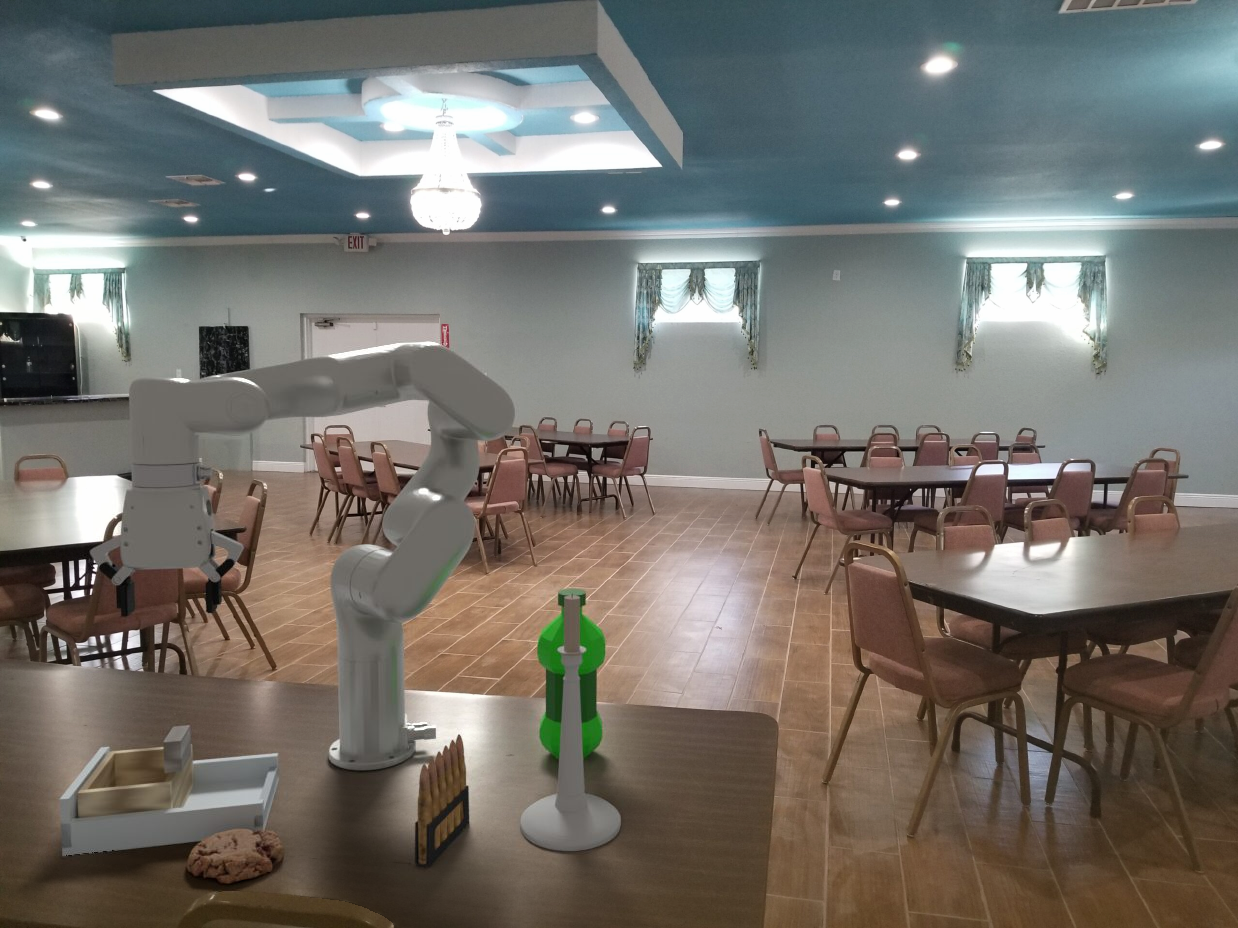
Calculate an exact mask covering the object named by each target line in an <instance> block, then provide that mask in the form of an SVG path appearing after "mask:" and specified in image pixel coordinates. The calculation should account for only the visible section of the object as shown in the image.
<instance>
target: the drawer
mask: <svg viewBox="0 0 1238 928" xmlns="http://www.w3.org/2000/svg"><path fill="white" fill-rule="evenodd" d="M191 736H192V735H191V724H189V725H188V724H187V725H177V726H173V727H172V728H171V730H170V731H169V733H168V734H167V736H166V737H165V739H164V740H163V743H162V744H163V745H162V746H159V747H148V748H146V747H145V748H144V747H143V748H135V749H122V750H112V751H111V750H110V752H109V753H108V754H107V755H106V757H105V758H104V759H103V760H102V762H101V763H100V764H99V766H98V767H97V768H96V770H95V771H94V772H93V774H92V775H91V776H90V777H89V779H88V780H87V781H86V783H85V784H84V785H83V787H82V788H81V789H80V790H79V792H78V793H77V797H78V816H79V818H86V817H96V816H105V815H115V814H125V813H134V812H144V811H154V810H163V809H173V808H183V806H184V804H185V802H186V800H187V798H188V796H189V794H190V792H191V790H192V788H193V786H194V777H193V761H194V755H193V752H194V751H193V744H192V741H191V738H192V737H191Z"/></svg>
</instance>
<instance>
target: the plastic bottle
mask: <svg viewBox="0 0 1238 928" xmlns="http://www.w3.org/2000/svg"><path fill="white" fill-rule="evenodd" d="M572 594H573V595H574V596H579V597H580V646H582V647H585V648H586V651H585V652H584V653H583V654H582V663H581V664H580V665H579V669H578V675H579V677H580V680H579V681H580V703H581V725H582V747H583V760H584V759H586V758H588V756H589V755H590V754H591V753H592V752H594V751H595V750H596V749H598V747H599V746H600V744H601V742H602V739H603V720H602V717H601V716H600V714H599V711H598V710H597V706H598V705H597V701H598V700H597V699H598V698H597V696H598V695H597V689H598V687H597V685H598V683H597V681H598V679H597V678H598V669H599V667H601V665H603V664H604V662H605V658H606V637H605V635H604V632H603V630H602V629H601V628H600V627H599V626H598V625H597V624H596V623H595V622H593V621H592V619H590V618H588V617H587V616H586V615H585V614H584V613H583V607H584V606H586V605H587V604H586V603H587V602H586V601H587V599H586V597H587V592H586V590H584V589H581V588H564V589H560V590H558V591H557V606H560V607H561V609H560V610H561V613H560V614H559V615H558V616H556V617H555V618H554V619H553V620H551V621H550V622H549V623H548V624H547V625H546V626H545V627H544V628H542V630H541V631H540V634H539V637H538V641H537V646H536V647H537V654H536V655H537V659H538V662H539V664H540V665H541V666H542V667H543V668H544V669H545V712H544V713H543V715H542V717H541V719H540V725H539V732H538V733H539V736H538V737H539V740H540V743H541V745H542V746H543V747H544V749H545V750H546V751H548V752H549V753H550V754H552V755H553V757H554V758H556V759H557V760H559V755H560V738H561V720H562V703H563V685H564V680H563V678H564V676H565V673H566V672H565V668H564V667H565V666H564V665H563V664H562V663H561V659H562V655H561V653H560V652H558V650H557V649H558V648H559V647H562V646H564V597H565V596H571V595H572Z"/></svg>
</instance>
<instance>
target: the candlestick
mask: <svg viewBox="0 0 1238 928" xmlns="http://www.w3.org/2000/svg"><path fill="white" fill-rule="evenodd" d="M557 650H558V652H560V653H561V655H562V659H561V663H562V664H563V665H564V666H565V667H564V668H565V672H566V673H565V676H564V678H563V680H564V685H563V703H562V720H561V738H560V755H559V759H558V775H557V787H556V791H557V792H556V793H555V794H552V795H548V796H544V797H543V798H540V799H538V800H537V801H534V803H532V804H531V805H529V806H528V807H527V808H526V809H525V810H524V811H523V812H522V815H521V817H520V819H519V820H520V823H519V824H520V831H521V834H522V835H523V836H524V838H525V839H526V840H528V841H529V842H530V843H532V844H534V845H536V846H539V847H542V848H544V849H548V850H553V851H558V852H560V851H561V852H577V851H585V850H590V849H594V848H596V847H600V846H603V845H605V844H607V843H608V842H610V841H611V840H613V839H614V838H615V837H616V836H617V835H618V834H619V832H620V830H621V827H622V826H621V825H622V818H621V817H622V816H621V814H620V812H619V811H618V809H617V808H616V807H615V806H614V805H612V804H611V803H610V802H608V801H607V800H605V799H603V798H601V797H600V796H596V795H594V794H589V793H585V790H586V787H585V771H584V759H583V747H582V725H581V703H580V681H579V680H580V677H579V675H578V669H579V665H580V664H581V663H582V654H583V653H584V652H585V651H586V648H585V647H582V646H580V597H579V596H574V595H573V594H572V595H571V596H565V597H564V646H562V647H559V648H558V649H557Z"/></svg>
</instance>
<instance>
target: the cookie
mask: <svg viewBox="0 0 1238 928" xmlns="http://www.w3.org/2000/svg"><path fill="white" fill-rule="evenodd" d="M284 854H285V846H284V844H283V842H282V841H281V840H280V838H279V837H278V834H277V833H276V832H275V831H274V830H269V829H268V830H267V829H265V830H261V829H260V830H258V831H256V832H253V831H252V830H248V829H233V830H228V831H224V832H219V833H216V834H214V835H212V836H208V837H207V838H205V839H204V840H202V841H199V842H198V843H197V844H196V845H195V846H194V847H193V848H192V849H191V851H190V853H189V855H188V858H187V861H186V868H187V871H188V872H190V873H191V874H193V876H195V877H202V879H206V878H212V879H214V878H215V879H216V880H217V881H218V882H219V883H220V884H221V883H222V884H232V883H235V882H239V881H242V880H247V879H253V878H257V877H259V876H262V875H265V874H267V873H268V872H270V873H271V872H272V871H273V867H275V866H276V865H278V864H280V862H281V861H282V860H283V858H284Z"/></svg>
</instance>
